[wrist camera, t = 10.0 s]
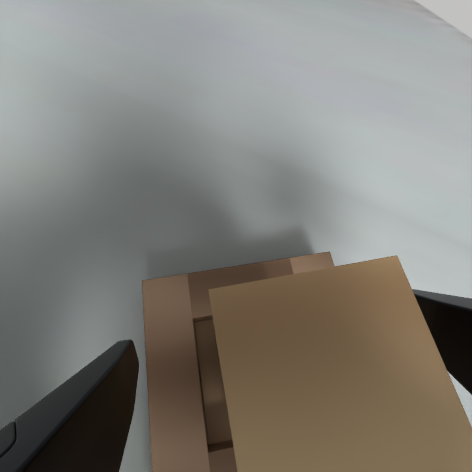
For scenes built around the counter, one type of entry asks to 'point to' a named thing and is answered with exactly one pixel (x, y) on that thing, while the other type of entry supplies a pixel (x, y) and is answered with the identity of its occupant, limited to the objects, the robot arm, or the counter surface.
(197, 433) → the socket
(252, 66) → the counter surface
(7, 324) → the counter surface
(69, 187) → the counter surface
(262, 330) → the peg
